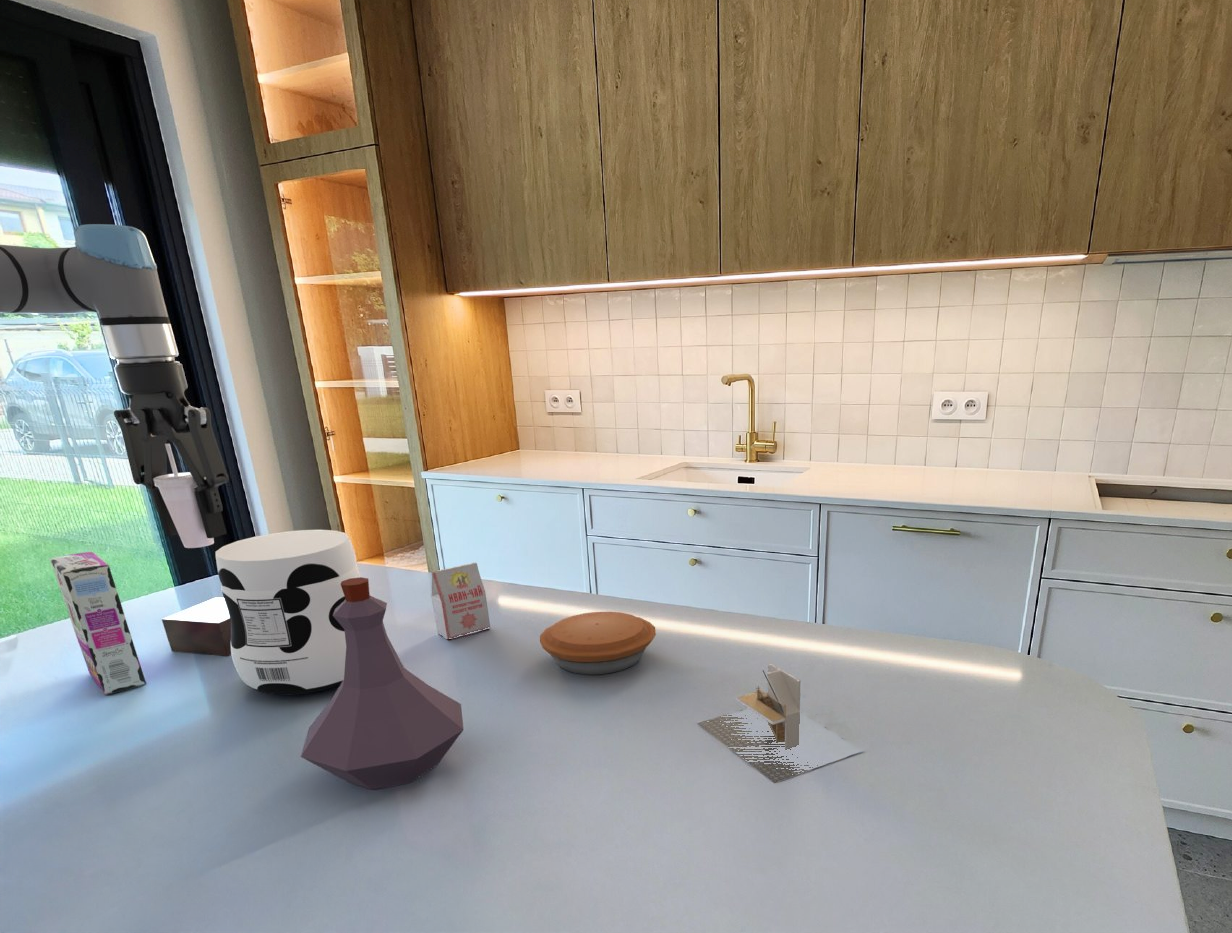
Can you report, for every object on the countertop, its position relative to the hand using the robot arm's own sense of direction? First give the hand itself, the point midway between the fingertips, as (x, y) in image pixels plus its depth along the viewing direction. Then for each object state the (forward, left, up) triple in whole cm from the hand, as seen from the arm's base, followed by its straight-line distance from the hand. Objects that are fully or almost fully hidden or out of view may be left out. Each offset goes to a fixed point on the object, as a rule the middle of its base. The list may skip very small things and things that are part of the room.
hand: (196, 534), depth 111 cm
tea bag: (+34, +10, -16) cm, 39 cm away
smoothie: (0, 0, -2) cm, 2 cm away
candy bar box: (-4, -15, -16) cm, 22 cm away
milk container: (+23, -9, -16) cm, 30 cm away
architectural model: (+85, -13, -16) cm, 87 cm away
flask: (+47, -27, -16) cm, 57 cm away
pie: (+58, +4, -16) cm, 60 cm away
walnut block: (0, 0, -16) cm, 16 cm away
